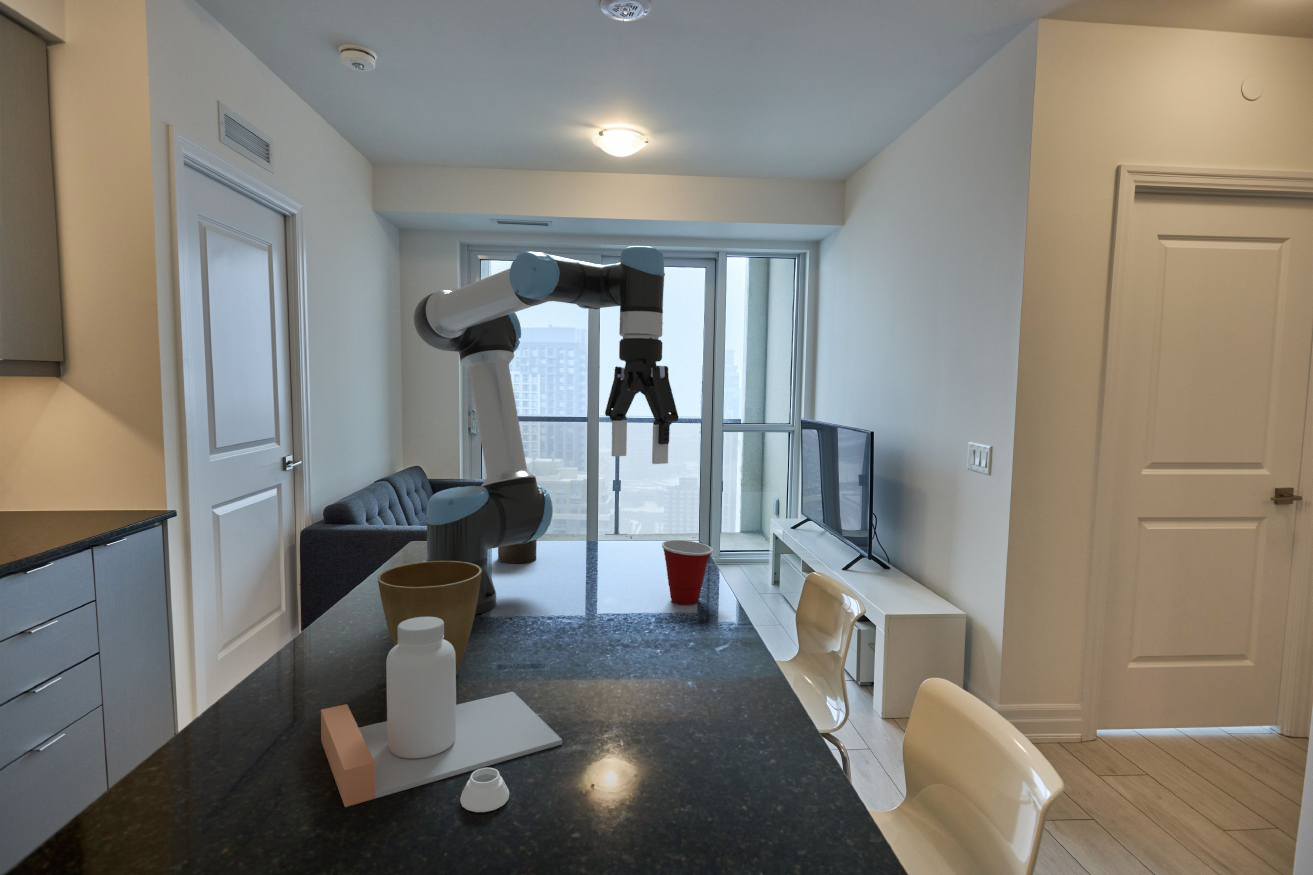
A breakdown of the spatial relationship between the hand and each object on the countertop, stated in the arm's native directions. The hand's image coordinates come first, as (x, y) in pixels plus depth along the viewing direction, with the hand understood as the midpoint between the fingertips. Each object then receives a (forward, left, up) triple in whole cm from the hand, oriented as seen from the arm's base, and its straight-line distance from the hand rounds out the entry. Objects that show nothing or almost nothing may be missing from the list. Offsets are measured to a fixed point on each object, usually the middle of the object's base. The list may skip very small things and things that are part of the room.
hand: (638, 459), depth 123 cm
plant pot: (-1, -36, -32) cm, 48 cm away
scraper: (+20, -41, -32) cm, 55 cm away
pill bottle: (+20, -43, -31) cm, 57 cm away
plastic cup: (-12, +20, -32) cm, 40 cm away
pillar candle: (-62, +3, -32) cm, 70 cm away
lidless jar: (+34, -40, -32) cm, 62 cm away
